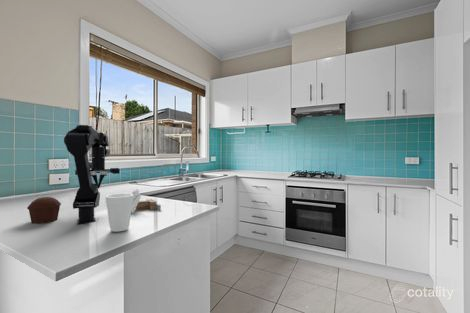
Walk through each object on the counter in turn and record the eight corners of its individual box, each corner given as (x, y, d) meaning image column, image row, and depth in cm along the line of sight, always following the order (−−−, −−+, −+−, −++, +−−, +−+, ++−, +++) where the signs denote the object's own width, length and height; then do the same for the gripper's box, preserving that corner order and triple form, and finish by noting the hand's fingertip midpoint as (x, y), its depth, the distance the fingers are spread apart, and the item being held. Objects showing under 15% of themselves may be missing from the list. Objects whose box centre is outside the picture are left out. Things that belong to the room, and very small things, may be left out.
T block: (156, 210, 117) (156, 201, 117) (138, 212, 112) (138, 203, 112) (151, 206, 124) (151, 198, 124) (134, 209, 119) (134, 200, 119)
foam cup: (100, 230, 84) (100, 196, 84) (122, 223, 93) (122, 192, 93) (116, 234, 80) (116, 198, 80) (138, 227, 88) (138, 194, 88)
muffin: (65, 219, 99) (65, 197, 99) (33, 226, 89) (33, 201, 89) (54, 215, 105) (54, 194, 105) (22, 221, 96) (22, 198, 96)
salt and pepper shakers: (121, 206, 117) (132, 187, 121) (128, 209, 119) (139, 190, 123) (125, 210, 108) (137, 189, 111) (133, 213, 110) (145, 192, 113)
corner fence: (160, 210, 115) (160, 205, 115) (138, 213, 109) (138, 207, 109) (152, 205, 128) (152, 200, 128) (132, 207, 122) (132, 202, 122)
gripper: (117, 157, 124) (116, 185, 124) (75, 157, 113) (75, 187, 113) (119, 157, 115) (119, 187, 115) (75, 157, 104) (75, 190, 104)
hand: (98, 188), depth 112 cm, fingers closed
